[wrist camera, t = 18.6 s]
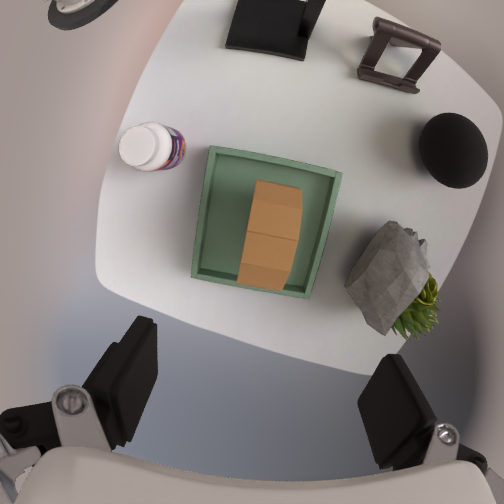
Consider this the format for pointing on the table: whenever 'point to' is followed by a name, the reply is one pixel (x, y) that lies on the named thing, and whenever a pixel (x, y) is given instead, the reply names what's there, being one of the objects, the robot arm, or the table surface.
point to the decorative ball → (453, 150)
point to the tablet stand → (401, 38)
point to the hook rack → (274, 26)
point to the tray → (238, 210)
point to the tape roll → (271, 236)
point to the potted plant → (395, 282)
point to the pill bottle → (152, 147)
